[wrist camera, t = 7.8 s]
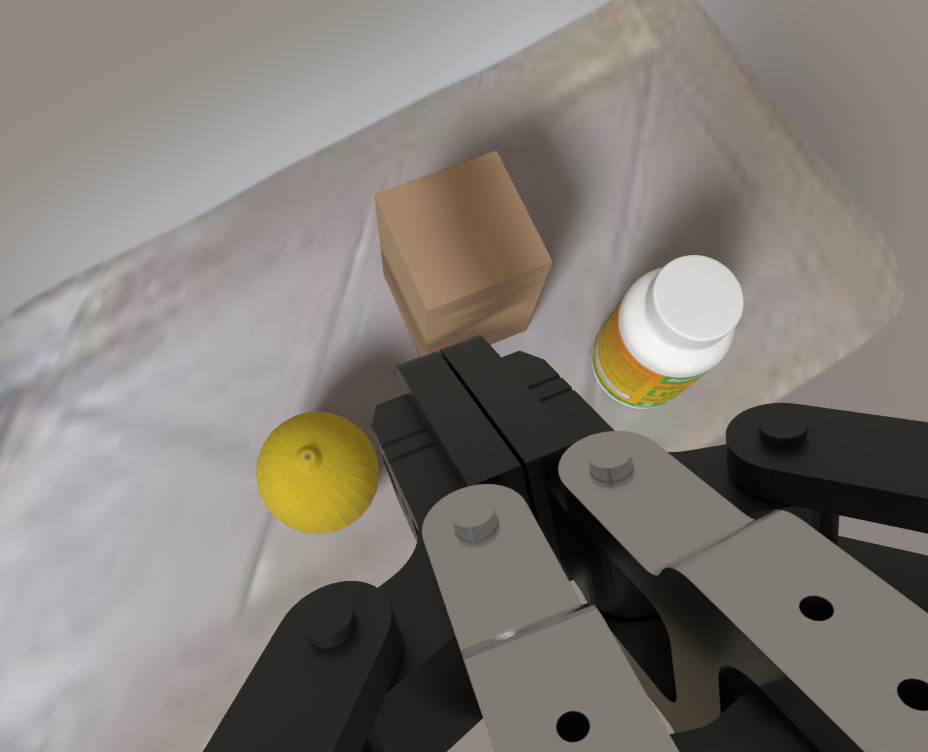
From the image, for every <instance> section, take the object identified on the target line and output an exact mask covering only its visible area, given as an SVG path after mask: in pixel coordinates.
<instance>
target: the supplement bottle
mask: <svg viewBox="0 0 928 752" xmlns="http://www.w3.org/2000/svg"><path fill="white" fill-rule="evenodd" d="M743 306H744V299H743V293H742V289H741V286H740V284H739V282H738V280H737V279H736V277H735V276H734V274H733V273H732V272H731V271H730V270H729V269H728V268H727V267H726V266H724V265H723V264H721V263H720V262H718V261H716V260H714V259H712V258H709V257H706V256H701V255H687V256H682V257H679V258H676V259H674V260H672V261H671V262H669V263H668V264H666V265H665V266H664V267H662V268H658V269H655V270H652V271H650V272H648V273H646V274H645V275H643V276H642V277H640V278H639V279H638V280H637V281H636V282H635V283H634V284H633V285H632V286H631V287H630V288H629V290H628V291H627V292H626V294H625V295H624V297H623V298H622V300H621V301H620V303H619V304H618V306H617V307H616V309H615V310H614V312H613V313H612V315H611V316H610V318H609V319H608V321H607V322H606V324H605V325H604V326H603V328H602V329H601V331H600V332H599V334H598V336H597V338H596V340H595V342H594V345H593V349H592V355H591V362H592V369H593V372H594V375H595V377H596V380H597V382H598V383H599V385H600V386H601V388H602V389H603V390H604V391H605V393H606V394H607V395H609V396H610V397H611V398H612V399H614V400H615V401H617V402H619V403H621V404H623V405H625V406H628V407H631V408H637V409H650V408H655V407H658V406H661V405H664V404H666V403H668V402H669V401H671V400H672V399H674V398H675V397H676V396H678V395H679V394H680V393H681V392H683V391H684V390H685V389H686V388H688V387H689V386H690V385H692V384H693V383H694V382H696V381H697V380H698V379H699V378H701V377H702V376H703V375H704V374H705V373H707V372H708V371H709V370H711V369H712V368H713V367H714V366H715V365H716V364H717V363H719V362H720V361H721V360H722V359H723V357H724V356H725V355H726V354H727V352H728V350H729V349H730V347H731V344H732V342H733V339H734V335H735V326H736V325H737V323H738V322H739V320H740V318H741V315H742V312H743Z"/></svg>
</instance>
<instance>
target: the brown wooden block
mask: <svg viewBox="0 0 928 752" xmlns="http://www.w3.org/2000/svg"><path fill="white" fill-rule="evenodd" d="M375 203H376V211H377V220H378V229H379V237H380V246H381V255H382V263H383V272H384V277H385V279H386V281H387V284H388V286H389V288H390V290H391V293H392V295H393V297H394V299H395V302H396V304H397V306H398V308H399V311H400V313H401V315H402V318H403V320H404V322H405V324H406V327H407V329H408V331H409V333H410V336H411V338H412V340H413V343H414V345H415V347H416V349H417V352H418V354H419V356H420V357H422V356H424V355H427V354H430V353H432V352H435V351H437V352H438V353H439V350H440V349H442V348H445V347H448V346H450V345H453V344H456V343H458V342H461V341H464V340H466V339H469V338H472V337H475V336H477V335H481V336H482V337H484V339H485V340H486V341H487V342H488V343H489V344H490V345H491V344H493V343H496V342H498V341H501V340H503V339H506V338H508V337H511V336H513V335H515V334H518V333H520V332H523V331H525V330H526V329H527V327H528V324H529V322H530V319H531V317H532V314H533V311H534V309H535V306H536V304H537V301H538V299H539V296H540V294H541V291H542V288H543V286H544V283H545V281H546V278H547V276H548V273H549V270H550V268H551V265H552V263H553V261H552V259H551V257H550V255H549V253H548V251H547V249H546V247H545V245H544V243H543V241H542V240H541V238H540V236H539V234H538V232H537V230H536V228H535V226H534V224H533V222H532V220H531V218H530V216H529V214H528V212H527V210H526V208H525V206H524V204H523V202H522V200H521V198H520V196H519V194H518V192H517V190H516V188H515V186H514V184H513V182H512V180H511V178H510V176H509V174H508V172H507V170H506V168H505V166H504V164H503V162H502V160H501V158H500V156H499V154H498V152H497V151H494V152H491V153H488V154H485V155H483V156H480V157H477V158H474V159H472V160H469V161H466V162H463V163H460V164H458V165H455V166H452V167H449V168H446V169H444V170H441V171H438V172H435V173H433V174H430V175H427V176H424V177H421V178H419V179H416V180H413V181H410V182H408V183H405V184H402V185H399V186H396V187H394V188H391V189H388V190H385V191H382V192H380V193H377V194H375Z"/></svg>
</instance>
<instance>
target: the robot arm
mask: <svg viewBox="0 0 928 752" xmlns="http://www.w3.org/2000/svg"><path fill="white" fill-rule="evenodd" d="M395 371H396V375H397V379H398V382H399V385H400V388H401V391H402V395H403V396H400V397H398V398H395V399H392V400H390V401H387V402H385V403H382V404H379V405H377V406H376V410H375V415H374V419H373V423H372V428H373V431H374V434H375V437H376V440H377V443H378V445H379V448H380V451H381V454H382V457H383V460H384V463H385V465H386V468H387V471H388V474H389V477H390V480H391V483H392V485H393V488H394V491H395V494H396V497H397V499H398V501H399V504H400V506H401V508H402V510H403V512H404V515H405V517H406V519H407V521H408V523H409V526H410V528H411V530H412V532H413V534H414V536H415V539H416V541H417V544H416V547H415V550H414V552H413V554H412V556H411V557H410V559H409V560H408V561H407V563H406V564H405V565H404V566H403V567H402V568H401V569H400V570H399V571H398V572H397V573H396V574H395V575H394V576H393V577H391V578H390V579H389V580H387V581H386V582H385V583H383V584H382V585H381V586H380V587H378V588H376V587H375V586H373V585H371V584H368V583H365V582H359V581H344V582H337V583H333V584H329V585H327V586H324V587H321V588H319V589H317V590H315V591H313V592H311V593H310V594H308V595H307V596H305V597H304V598H302V599H301V600H300V601H299V602H298V603H297V604H295V605H294V606H293V607H292V608H291V610H290V611H289V612H288V613H287V614H286V616H285V617H284V619H283V620H282V621H281V623H280V625H279V626H278V628H277V630H276V631H275V633H274V635H273V636H272V638H271V640H270V641H269V643H268V645H267V646H266V648H265V650H264V651H263V653H262V655H261V656H260V658H259V660H258V661H257V663H256V665H255V666H254V668H253V670H252V671H251V673H250V674H249V676H248V678H247V679H246V681H245V683H244V684H243V686H242V688H241V689H240V691H239V693H238V694H237V696H236V698H235V699H234V701H233V703H232V704H231V706H230V708H229V709H228V711H227V713H226V714H225V716H224V718H223V719H222V721H221V723H220V724H219V726H218V728H217V729H216V731H215V733H214V734H213V736H212V738H211V739H210V741H209V743H208V744H207V746H206V747H205V749H204V751H203V752H447V751H448V750H449V749H450V748H451V747H452V746H453V745H454V744H455V743H456V742H458V741H459V740H460V739H461V738H462V737H463V736H464V735H465V734H466V733H467V732H469V730H471V729H472V728H473V727H474V726H475V725H476V724H477V723H478V722H479V721H480V720H481V719H484V722H485V724H486V727H487V731H488V733H489V736H490V739H491V742H492V745H493V748H494V751H495V752H928V556H927V555H923V554H918V553H914V552H909V551H905V550H900V549H896V548H891V547H887V546H882V545H878V544H873V543H869V542H864V541H859V540H855V539H851V538H846V537H842V536H838V529H839V515H841V516H846V517H851V518H856V519H860V520H866V521H870V522H875V523H879V524H885V525H889V526H894V527H899V528H904V529H909V530H914V531H918V532H923V533H928V422H922V421H914V420H907V419H900V418H893V417H886V416H879V415H872V414H865V413H857V412H850V411H843V410H836V409H828V408H822V407H814V406H807V405H800V404H791V403H772V404H764V405H760V406H756V407H753V408H750V409H748V410H746V411H743V412H742V413H740V414H739V415H737V416H736V417H735V418H734V419H733V420H732V421H731V422H730V424H729V425H728V427H727V430H726V444H725V445H719V446H713V447H707V448H701V449H695V450H689V451H682V452H666V451H665V450H664V449H663V448H661V447H660V446H659V445H658V444H656V443H655V442H654V441H652V440H651V439H649V438H647V437H645V436H643V435H640V434H636V433H632V432H626V431H614V430H613V429H612V428H611V427H610V426H609V425H608V424H607V423H606V422H605V421H604V420H603V419H602V417H601V416H600V415H599V414H598V413H597V412H596V411H595V410H594V409H593V408H592V407H591V406H590V405H589V404H588V403H587V402H586V401H585V400H584V399H583V398H582V397H581V396H580V395H579V394H578V393H577V392H576V391H575V390H574V391H573V390H572V388H571V386H570V385H569V384H568V383H567V382H566V381H565V380H564V379H563V378H560V376H559V374H558V373H557V372H556V371H555V370H554V369H553V368H552V367H551V366H550V365H549V364H548V363H547V362H546V361H545V360H544V359H541V358H538V357H536V356H533V355H530V354H527V353H525V352H522V351H517V352H515V353H512V354H510V355H507V356H504V357H502V358H501V357H500V356H499V354H498V353H497V352H496V351H495V350H494V349H493V348H492V347H491V345H490V344H489V343H488V342H487V341H486V340H485V339H484V337H482V336H481V335H477V336H475V337H472V338H469V339H466V340H464V341H461V342H458V343H456V344H453V345H450V346H448V347H445V348H442V349H440V350H439V353H438V352H437V351H435V352H432V353H430V354H427V355H424V356H422V357H419V358H416V359H414V360H411V361H408V362H405V363H403V364H400V365H397V366H395ZM572 580H574V581H575V583H576V584H577V585H578V587H579V588H580V590H581V591H582V593H583V598H584V602H585V604H584V605H582V603H581V602H580V600H579V598H578V597H577V595H576V593H575V591H574V589H573V587H572V586H571V584H570V582H569V581H572ZM648 697H649V698H650V700H651V701H652V702H653V703H654V705H655V706H656V707H657V708H658V710H659V711H660V712H661V714H662V715H663V716H664V717H665V719H666V720H667V721H668V723H669V724H670V726H671V727H672V729H673V731H674V734H669V733H668V731H667V729H666V728H665V726H664V724H663V722H662V721H661V719H660V717H659V716H658V714H657V712H656V710H655V708H654V707H653V705H652V703H651V701H650V700H649V698H648Z"/></svg>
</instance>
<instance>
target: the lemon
mask: <svg viewBox="0 0 928 752" xmlns="http://www.w3.org/2000/svg"><path fill="white" fill-rule="evenodd" d="M256 475H257V482H258V489H259V492H260V494H261V496H262V498H263V501H264V503H265V505H266V506H267V507H268V509H269V510H270V511H271V513H272V514H273V515H274V516H275V517H276V518H277V519H278V520H280V521H281V522H283V523H284V524H285V525H287V526H288V527H291V528H293V529H296V530H299V531H301V532H305V533H314V534H322V533H329V532H335V531H337V530H339V529H342V528H344V527H347V526H349V525H350V524H351V523H353V522H354V521H355V520H357V519H358V518H360V517H361V515H362V514H363V513H364V512H365V511H366V509H367V508H368V507H369V506H370V504H371V502H372V500H373V498H374V495H375V493H376V491H377V486H378V481H379V462H378V458H377V455H376V452H375V449H374V446H373V445H372V443H371V442H370V440H369V439H368V437H367V435H366V434H365V433H364V432H363V431H362V430H361V429H360V428H359V427H358V426H357V425H356V424H354V423H353V422H351V421H349V420H347V419H346V418H344V417H342V416H340V415H336V414H331V413H327V412H308V413H304V414H300V415H296V416H294V417H292V418H290V419H288V420H286V421H285V422H283V423H282V424H280V425H279V426H278V427H277V428H276V429H275V430H274V431H272V432H271V434H270V435H269V437H268V438H267V440H266V441H265V443H264V444H263V447H262V449H261V452H260V455H259V457H258V463H257V472H256Z"/></svg>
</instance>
